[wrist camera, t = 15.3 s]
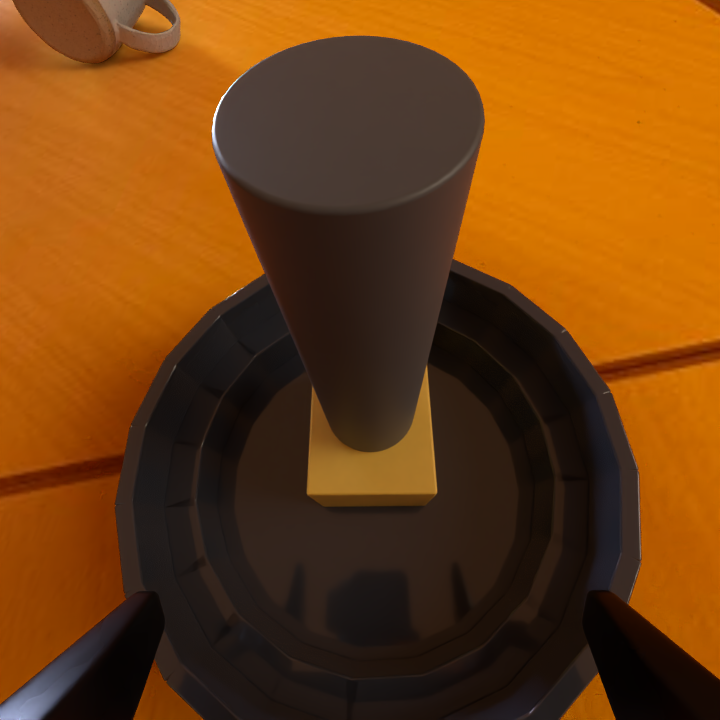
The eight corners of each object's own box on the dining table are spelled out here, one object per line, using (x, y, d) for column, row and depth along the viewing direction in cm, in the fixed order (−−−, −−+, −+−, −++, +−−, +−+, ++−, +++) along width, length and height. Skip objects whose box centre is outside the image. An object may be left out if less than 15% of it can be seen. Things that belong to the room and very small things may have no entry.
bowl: (656, 498, 17) (756, 481, 13) (341, 853, 13) (319, 1016, 8) (391, 259, 23) (393, 189, 19) (121, 448, 19) (40, 417, 15)
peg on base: (425, 506, 17) (610, 326, 3) (322, 506, 17) (88, 340, 3) (416, 375, 19) (498, -29, 6) (326, 377, 20) (203, -10, 6)
